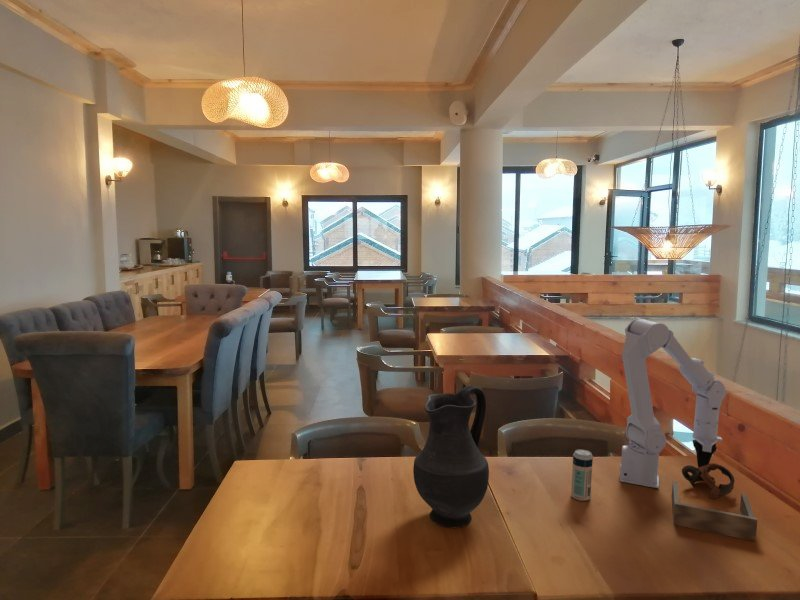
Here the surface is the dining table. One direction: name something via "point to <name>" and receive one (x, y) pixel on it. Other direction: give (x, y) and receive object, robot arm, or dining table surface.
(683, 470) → the brown hollow ring part
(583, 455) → the supplement bottle
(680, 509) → the box
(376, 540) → the dining table surface
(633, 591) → the dining table surface
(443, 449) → the pitcher
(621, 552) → the dining table surface
